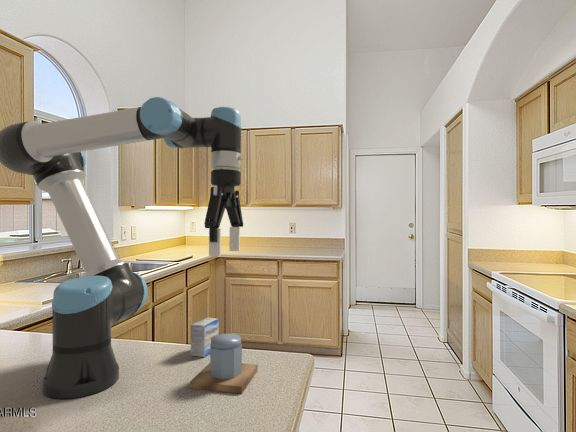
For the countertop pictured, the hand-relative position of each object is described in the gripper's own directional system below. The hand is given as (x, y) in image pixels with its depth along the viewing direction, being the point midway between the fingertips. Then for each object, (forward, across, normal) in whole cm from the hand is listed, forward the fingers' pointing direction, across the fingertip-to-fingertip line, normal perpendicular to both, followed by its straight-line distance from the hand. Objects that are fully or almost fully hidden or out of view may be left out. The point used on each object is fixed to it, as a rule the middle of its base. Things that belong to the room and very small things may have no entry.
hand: (225, 253), depth 93 cm
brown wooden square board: (+29, -7, -3) cm, 30 cm away
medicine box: (+29, +8, +9) cm, 31 cm away
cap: (+27, -7, -3) cm, 28 cm away
